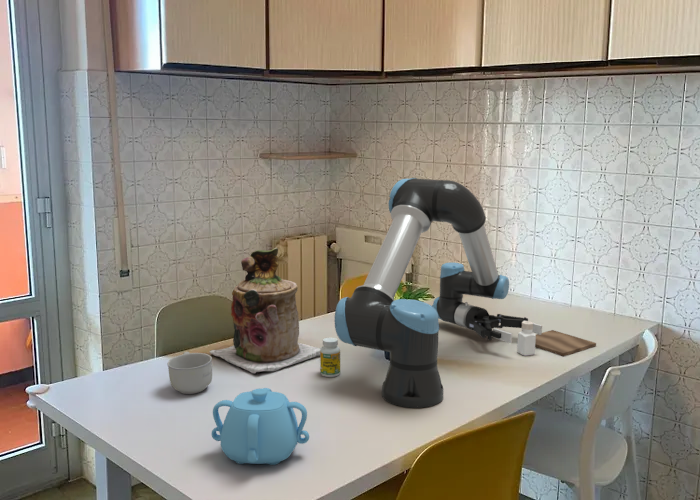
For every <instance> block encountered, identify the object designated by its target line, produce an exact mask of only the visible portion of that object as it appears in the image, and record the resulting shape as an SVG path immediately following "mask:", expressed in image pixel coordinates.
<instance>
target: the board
mask: <svg viewBox="0 0 700 500" xmlns="http://www.w3.org/2000/svg"><path fill="white" fill-rule="evenodd" d="M535 335H536V341H535V349H536V348H537V349H540V350H543V351H546V352H548V353H551V354H555V355H557V356H561V357H566V356H569V355H573V354H575V353H578V352H582V351H585V350H588V349H591V348H594V347H597V342H594V341H590V340H588V339H585V338H581V337H578V336H575V335H570V334H567V333H563V332H561V331H557V330H555V329H551V330H547V331H544V332H543V331H542V334H541V335H539V334H536V333H535Z"/></svg>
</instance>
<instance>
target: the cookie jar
mask: <svg viewBox="0 0 700 500" xmlns="http://www.w3.org/2000/svg"><path fill="white" fill-rule="evenodd" d="M278 254H279V248H277V247H275V248H273V249H271V250H262V249H259V250H258V249H257V250H255V251H253V252H251V253H250V256H248V257H244V258H243V259H242V260H241V261H240V262H241V268H242V271H243V272H246V273H247V274H246V275H245V278H244V279H243V280H241V281H240V282H239V283H238V284H237V285H236V286H235V287H234V288H233V291H232V292H231V295H232V301H231V303H230V304H231V305H230V306H231V307H230V311H231V312H230V317H231V318H232V323H233V329H234V331H233V339H232V342H233V345H232V346H231V345H230V346H229V347H224V348H221V349H212V350H209V355H213V356H215V357H217V358H221V359H223V360H225V361H226V362H227V363H230V364H232V365H233V366H237V367H238V368H241V369H244V371H248V372H250V373H251V374H256V373H260V372H276V371H278V370H281V369H283V368H286V367H288V366H289V367H290V366H292V365H294V364H298V363H300V362H304V361H307V360H310V359H313V358H316V357H320V349H321V347H317V346H312V345H308V344H305V343H301V342H299V337H300V323H299V322H300V320H299V311H298V308H297V299H296V293H297V291H298V288H299V286H298V285H297V282H295V281H291V280H287V279H283V278H281V277H280V276H279V275H277V274H276V273H277V272H276V271H277V269H278V267H279V263H278Z"/></svg>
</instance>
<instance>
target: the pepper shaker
mask: <svg viewBox="0 0 700 500" xmlns="http://www.w3.org/2000/svg"><path fill="white" fill-rule="evenodd" d="M533 323H534V322H533V321H529V320H528V321H523V322H522V328H521V331H519V332H517V341H516V342H517V345H516V346H517V347H516V351H517V353H518V354H519V355H522V356H533V355H535V353H536V347H535V341H536V333H533V332H532V330H533Z"/></svg>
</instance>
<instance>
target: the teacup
mask: <svg viewBox="0 0 700 500" xmlns="http://www.w3.org/2000/svg"><path fill="white" fill-rule="evenodd" d="M212 361H213V357H212V356H211V354H207V353H204V352H203V353H202V352H189V351H183V354H179V355H176V356H173V357H172V358H170V359H169V360H168V361H167V367H168V376H169V382H170V385H171V387H172V388H173V389H174V390H176V391H177V392H178V393H181V394H184V395H193V394H198V393H201V392H204V390H205V389H207V387H208V386H209V385H211V383H212V380H213V364H212V363H213V362H212Z"/></svg>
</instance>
